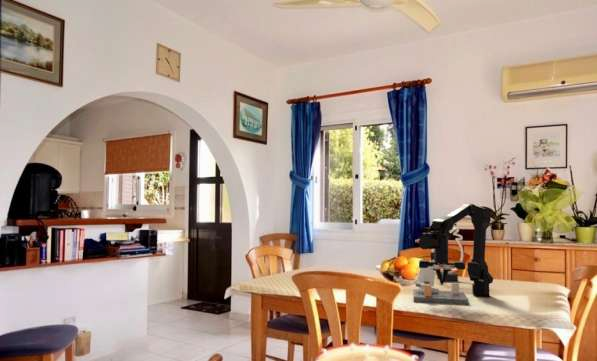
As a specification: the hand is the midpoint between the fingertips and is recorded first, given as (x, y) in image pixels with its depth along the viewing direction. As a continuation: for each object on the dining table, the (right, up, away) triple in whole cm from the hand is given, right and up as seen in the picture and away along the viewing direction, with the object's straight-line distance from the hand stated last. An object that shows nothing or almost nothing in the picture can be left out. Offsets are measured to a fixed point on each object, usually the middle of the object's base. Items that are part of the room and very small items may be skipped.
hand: (441, 284), depth 186 cm
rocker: (-4, -3, +9) cm, 10 cm away
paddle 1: (-6, -5, +1) cm, 8 cm away
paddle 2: (+8, -5, +6) cm, 11 cm away
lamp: (+19, -9, +49) cm, 53 cm away
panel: (0, -7, +4) cm, 8 cm away
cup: (0, -8, +23) cm, 25 cm away
